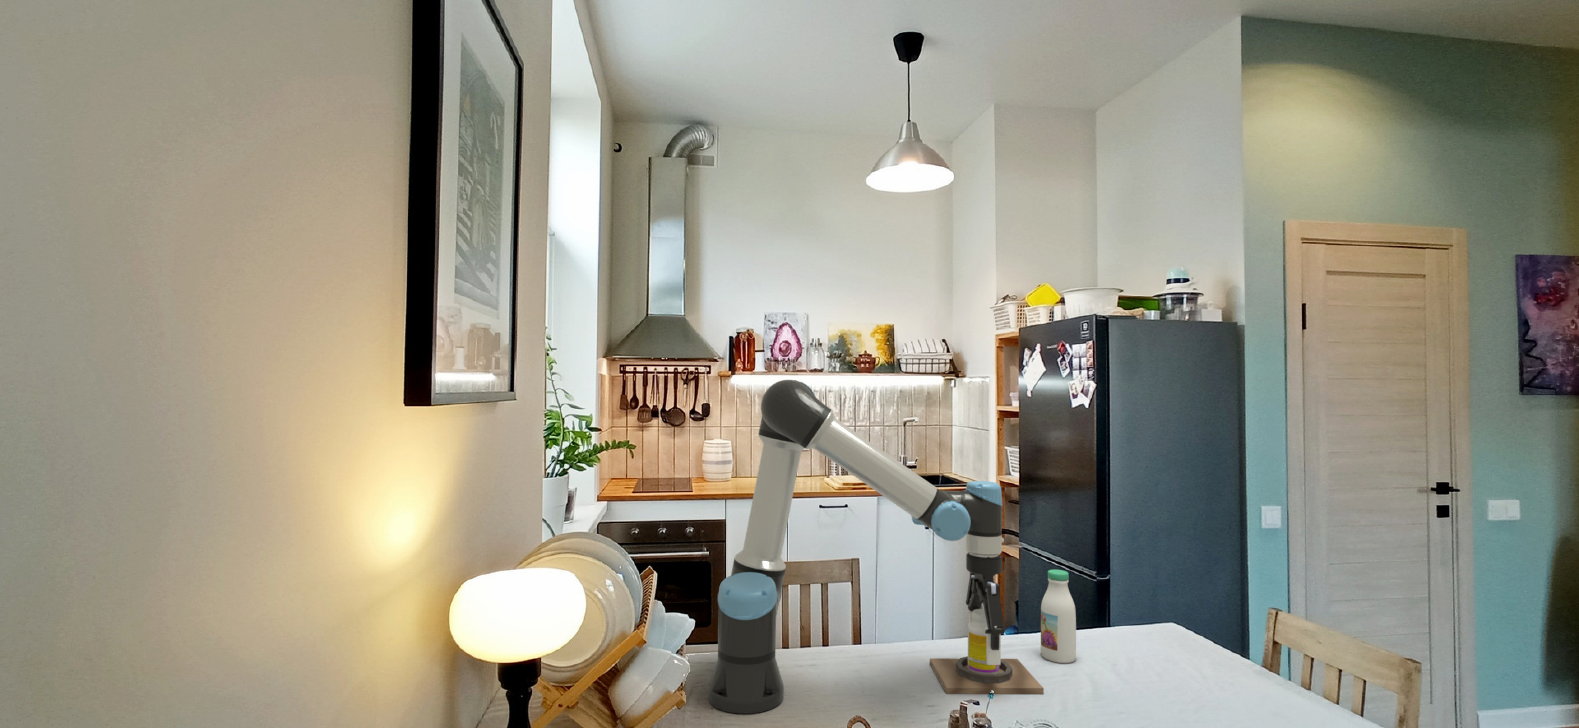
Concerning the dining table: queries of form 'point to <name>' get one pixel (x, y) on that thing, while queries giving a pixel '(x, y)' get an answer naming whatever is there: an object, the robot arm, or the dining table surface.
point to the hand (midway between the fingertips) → (983, 652)
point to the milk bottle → (1058, 620)
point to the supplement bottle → (979, 645)
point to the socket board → (981, 688)
